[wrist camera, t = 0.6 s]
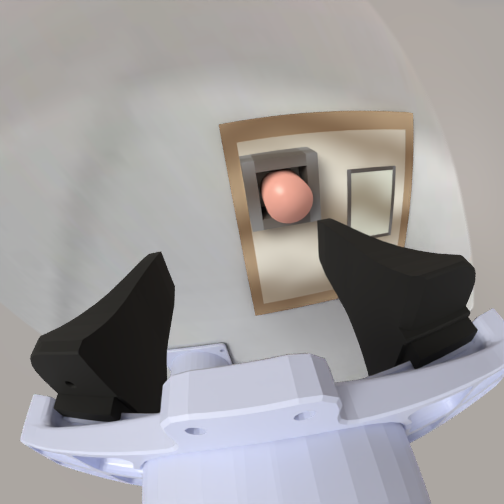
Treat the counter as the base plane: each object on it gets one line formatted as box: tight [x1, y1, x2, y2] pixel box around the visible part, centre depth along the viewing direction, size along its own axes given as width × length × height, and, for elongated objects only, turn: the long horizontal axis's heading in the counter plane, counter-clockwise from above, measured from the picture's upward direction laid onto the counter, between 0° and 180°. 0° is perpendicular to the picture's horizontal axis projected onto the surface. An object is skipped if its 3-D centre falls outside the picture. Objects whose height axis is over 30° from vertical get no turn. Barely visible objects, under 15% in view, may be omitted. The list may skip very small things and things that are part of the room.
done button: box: [260, 168, 313, 223], centre depth 18 cm, size 3×3×3 cm
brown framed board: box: [219, 111, 413, 316], centre depth 21 cm, size 18×16×3 cm
